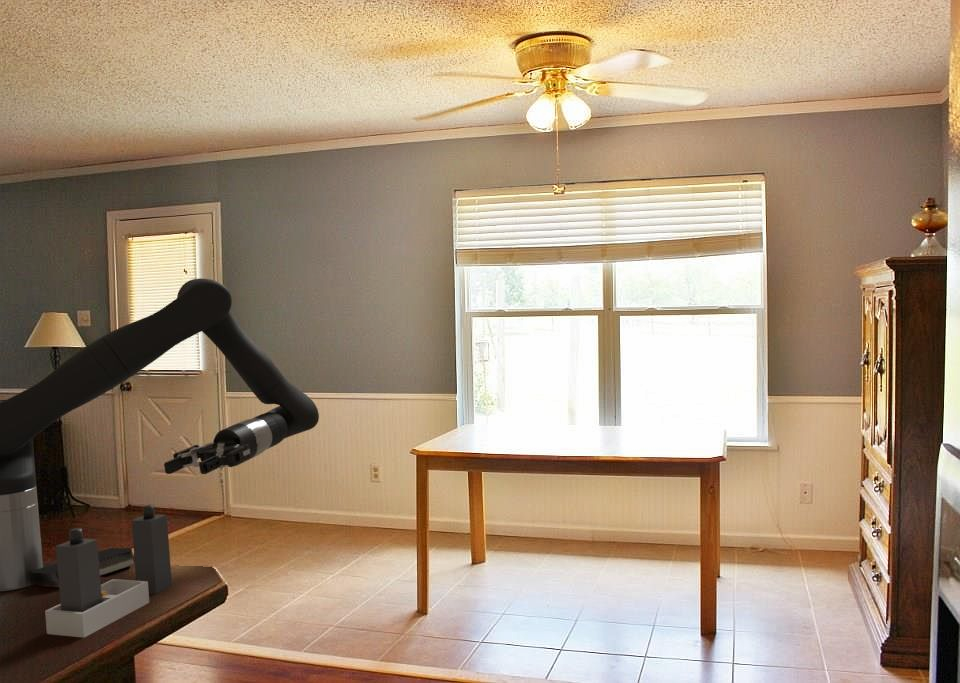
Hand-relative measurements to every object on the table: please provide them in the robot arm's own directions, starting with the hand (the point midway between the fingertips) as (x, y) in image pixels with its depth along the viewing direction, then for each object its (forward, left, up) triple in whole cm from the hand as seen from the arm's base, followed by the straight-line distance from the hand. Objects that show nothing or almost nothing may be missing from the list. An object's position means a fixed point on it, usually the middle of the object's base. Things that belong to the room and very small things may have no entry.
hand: (183, 469), depth 148 cm
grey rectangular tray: (-10, -19, -20) cm, 29 cm away
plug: (-5, -7, -20) cm, 21 cm away
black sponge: (-20, +6, -20) cm, 29 cm away
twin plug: (-12, -22, -19) cm, 31 cm away
